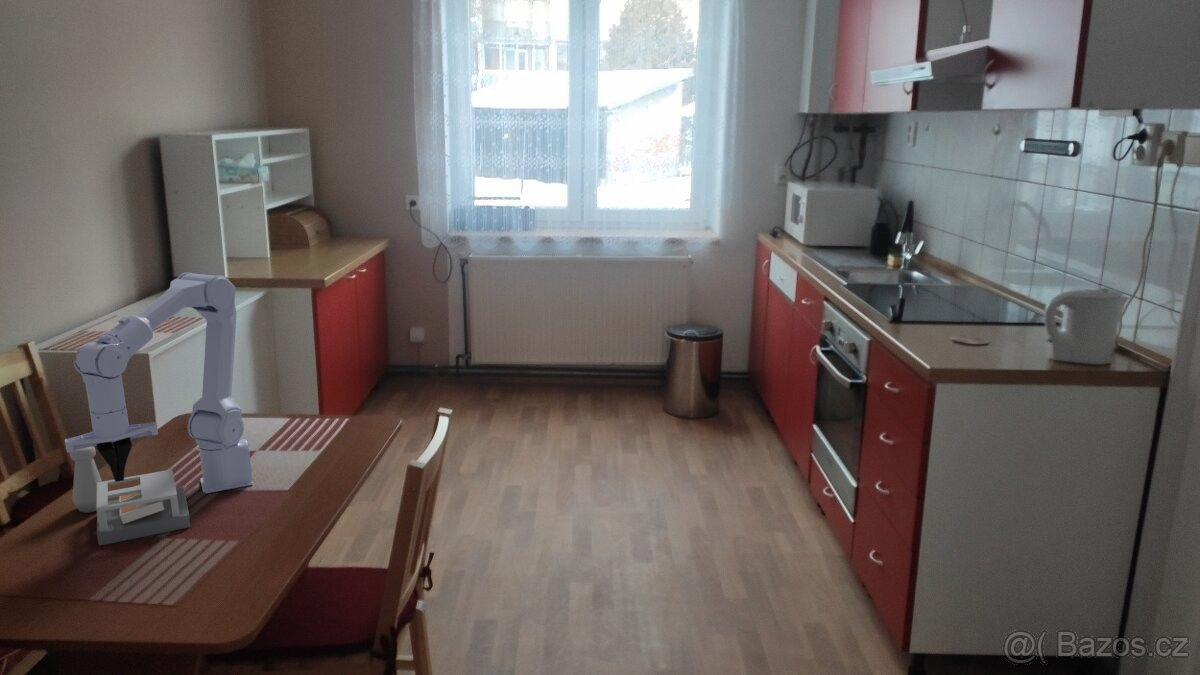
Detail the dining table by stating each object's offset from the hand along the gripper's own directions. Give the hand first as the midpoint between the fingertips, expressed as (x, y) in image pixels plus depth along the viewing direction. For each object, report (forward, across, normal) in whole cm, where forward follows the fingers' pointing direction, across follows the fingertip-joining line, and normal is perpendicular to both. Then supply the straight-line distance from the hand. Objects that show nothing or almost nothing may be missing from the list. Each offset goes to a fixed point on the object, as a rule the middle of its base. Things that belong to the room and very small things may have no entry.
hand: (119, 479), depth 161 cm
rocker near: (+6, -3, 0) cm, 7 cm away
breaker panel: (+10, -3, -3) cm, 11 cm away
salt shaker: (+11, +4, -15) cm, 19 cm away
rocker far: (+6, -4, -6) cm, 9 cm away
